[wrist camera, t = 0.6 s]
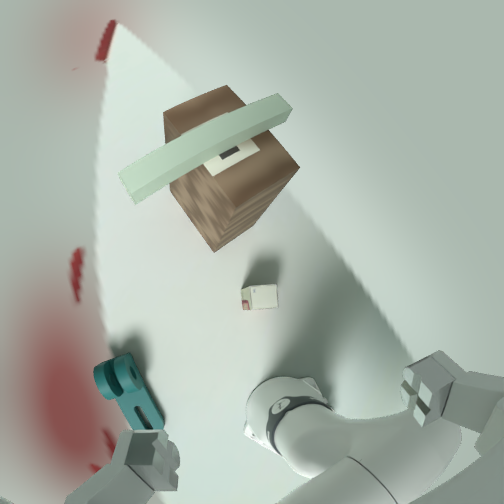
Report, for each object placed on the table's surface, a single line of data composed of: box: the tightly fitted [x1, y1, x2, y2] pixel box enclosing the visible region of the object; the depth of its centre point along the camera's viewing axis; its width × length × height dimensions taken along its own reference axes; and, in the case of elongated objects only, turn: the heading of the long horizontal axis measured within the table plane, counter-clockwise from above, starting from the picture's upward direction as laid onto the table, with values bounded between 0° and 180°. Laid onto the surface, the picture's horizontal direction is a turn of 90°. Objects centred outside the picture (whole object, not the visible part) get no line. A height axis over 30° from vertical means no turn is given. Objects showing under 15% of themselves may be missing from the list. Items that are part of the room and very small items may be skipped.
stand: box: [163, 85, 300, 253], centre depth 45 cm, size 16×10×26 cm, turn 38°
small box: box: [241, 284, 279, 310], centre depth 52 cm, size 5×4×8 cm
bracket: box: [93, 353, 164, 430], centre depth 42 cm, size 18×7×8 cm, turn 24°
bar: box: [118, 93, 292, 205], centre depth 30 cm, size 3×22×3 cm, turn 128°
